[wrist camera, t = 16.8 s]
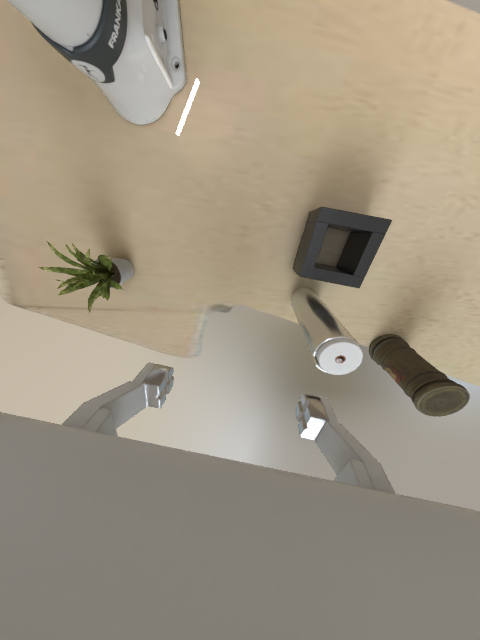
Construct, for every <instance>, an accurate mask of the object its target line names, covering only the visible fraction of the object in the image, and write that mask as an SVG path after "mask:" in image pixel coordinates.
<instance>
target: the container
mask: <svg viewBox="0 0 480 640" xmlns="http://www.w3.org/2000/svg"><path fill="white" fill-rule="evenodd" d="M369 354H370V357H371V358H372V359H373V360H374V361H375V362H376V363H377V364H379V365H381V366H382V368H383V369H384V370H385V371H386V372H387V373H388V374H389V375H390V376H391V377H392V378H393V379H394V380H395V382H396V383H397V384H398V385H399V386H400V387H401V388H402V389H403V391H404V392H405V394H406V395H408V396H409V397H410V398H411V399H412V402H413V403H414V405H415V407H416V408H417V409H418V410H419V411H420V412H421V413H423V414H425V415H429V416H446V415H449V414H453V413H455V412H457V411H459V410H461V409H462V408H463V407H464V406H465V405H466V404H467V403H468V401H469V397H470V396H469V393H468V391H467V390H466V389H465V388H464V387H463V386H462V385H460V384H457V383H455V382H454V381H452V380H450V379H448V378H447V376H446V375H445V374H444V373H442V372H440V371H439V370H437V369H436V368H435V367H433V366H432V365H431V364H430V363H428V362H427V361H426V360H425V359H423V358H422V357H421V356H420V355H418V354H417V353H416V351H415V350H414V349H412V348H410V347H409V345H408V343H407V342H405V341H404V340H403V339H402V338H401V337H399V336H396V335H391V334H389V335H383V336H381V337H379V338H377V339H376V340H375V341H373V343H372V344H371V345H370V348H369Z"/></svg>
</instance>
